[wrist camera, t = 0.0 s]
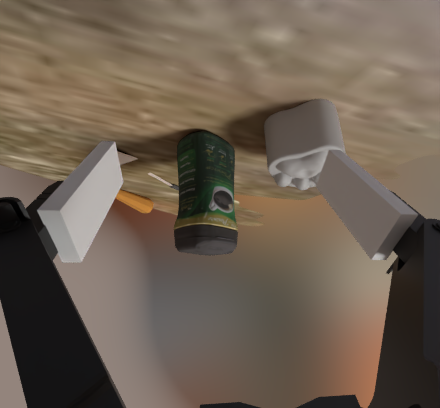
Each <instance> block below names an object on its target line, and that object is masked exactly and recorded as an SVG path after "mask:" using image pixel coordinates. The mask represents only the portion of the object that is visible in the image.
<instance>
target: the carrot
mask: <svg viewBox="0 0 440 408" xmlns="http://www.w3.org/2000/svg"><path fill="white" fill-rule="evenodd" d="M115 198H116V199H118V200H120V201H122V202H123V203H125V204H127V205H129V206H131V207H132V208H134V209H136V210H138V211H140V212H142V213H149V212H150V211H151V210H152V209H153V204H154V203H153V202H152V201H151V200H150V199H149V198H146V197H143V196H140V195H137V194H133V193H130V192H127V191H124V190H121V189H120V190H119V192H118V193H117V195H116V197H115Z"/></svg>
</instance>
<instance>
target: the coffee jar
mask: <svg viewBox="0 0 440 408" xmlns="http://www.w3.org/2000/svg"><path fill="white" fill-rule="evenodd" d="M177 161H178V179H179V210H178V216H177V220H176V222H175V225H174V237H175V246H176V248H177V250H178V251H179V252H185V253H192V254H199V255H221V254H229V253H232V252H233V251H234V249H235V248H236V245H237V235H238V232H237V231H238V228H237V223H236V219H235V212H234V166H235V152H234V148H233V147H232V146H231V145H230V144H229V143H228V142H226V141H225V140H223V139H222V138H220V137H218V136H216V135H214V134H212V133H209V132H205V131H203V132H196V133H192V134H189V135H187V136H186V137H184V138H183V139H182V140H181V141H180V142H179V143H178V146H177Z"/></svg>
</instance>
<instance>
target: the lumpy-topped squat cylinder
mask: <svg viewBox="0 0 440 408" xmlns="http://www.w3.org/2000/svg"><path fill="white" fill-rule="evenodd" d="M264 131H265V143H266V154H267V165H268V170H269V172H270V174H271V176H272V177H273V178H274V179H275V182H276V183H277V185H279V186H281V187H285V186H287V185H288V186H292V187H297V188H298V189H300V190H306V189H307V188H309V187H314V186H316V185H317V182H318V179H319V176H320V174H321V171H322V168H323V165H324V162H325V159H326V157H327V154H328V151H329V150H341V151H342V152H344V153H345V154H346V152H345V147H344V142H343V137H342V133H341V128H340V123H339V118H338V114H337V111H336V107H335V105H334V104H333V103H332V102H331V101H329V100H326V99H315V100H311V101H308V102H306V103H304V104H302V105H299V106H297V107H295V108H292V109H288V110H284V111H280V112H277V113H274V114H272V115H271V116H269V117H268V118H267V120H266V121H265V124H264Z"/></svg>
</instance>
